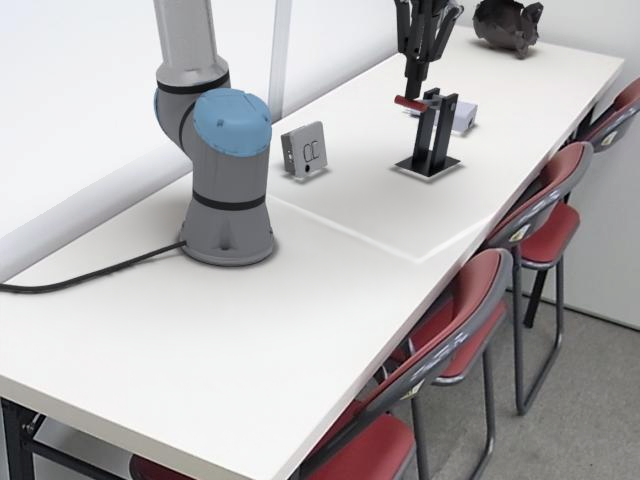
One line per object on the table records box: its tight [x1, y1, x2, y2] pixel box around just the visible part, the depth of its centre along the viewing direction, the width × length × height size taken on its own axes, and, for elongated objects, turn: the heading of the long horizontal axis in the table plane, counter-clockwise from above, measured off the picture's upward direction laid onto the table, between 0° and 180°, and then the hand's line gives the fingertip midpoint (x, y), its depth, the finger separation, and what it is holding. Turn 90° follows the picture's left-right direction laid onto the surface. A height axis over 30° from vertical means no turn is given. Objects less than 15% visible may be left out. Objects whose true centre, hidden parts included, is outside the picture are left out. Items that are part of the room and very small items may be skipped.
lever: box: [393, 94, 447, 113], centre depth 168 cm, size 13×6×2 cm, turn 139°
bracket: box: [394, 86, 462, 178], centre depth 175 cm, size 12×8×15 cm, turn 139°
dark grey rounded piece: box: [471, 0, 545, 57], centre depth 245 cm, size 14×15×20 cm
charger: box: [402, 100, 479, 133], centre depth 198 cm, size 5×9×15 cm
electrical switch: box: [280, 120, 328, 179], centre depth 171 cm, size 9×5×9 cm, turn 141°
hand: (411, 97), depth 163 cm, fingers closed
